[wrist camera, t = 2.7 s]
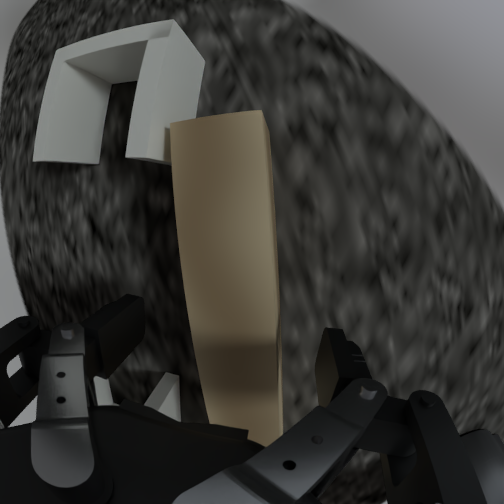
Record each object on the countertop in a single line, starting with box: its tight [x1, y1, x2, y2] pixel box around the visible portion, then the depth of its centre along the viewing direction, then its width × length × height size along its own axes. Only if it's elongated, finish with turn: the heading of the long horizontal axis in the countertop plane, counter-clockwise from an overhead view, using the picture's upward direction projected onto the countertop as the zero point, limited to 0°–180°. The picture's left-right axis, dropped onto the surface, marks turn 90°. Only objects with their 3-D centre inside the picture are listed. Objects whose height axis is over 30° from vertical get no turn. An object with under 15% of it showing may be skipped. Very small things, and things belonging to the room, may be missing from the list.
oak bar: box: [170, 110, 283, 447], centre depth 13 cm, size 3×18×4 cm, turn 4°
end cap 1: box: [33, 19, 205, 165], centre depth 11 cm, size 7×6×4 cm
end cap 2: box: [93, 372, 181, 422], centre depth 15 cm, size 7×6×4 cm
